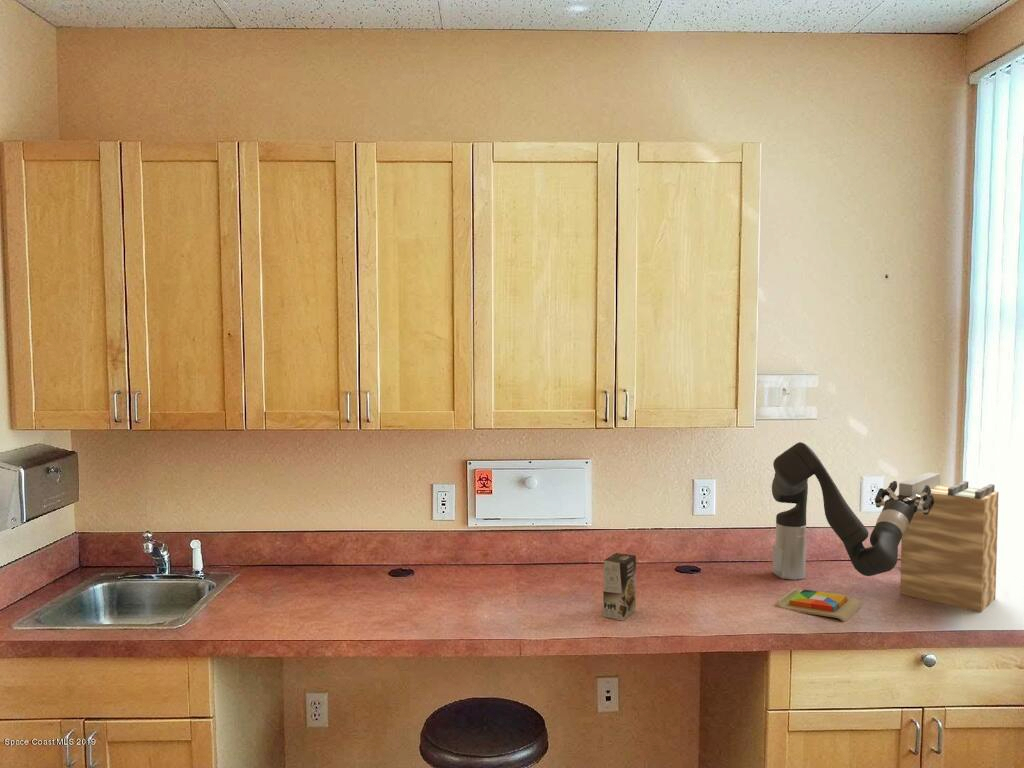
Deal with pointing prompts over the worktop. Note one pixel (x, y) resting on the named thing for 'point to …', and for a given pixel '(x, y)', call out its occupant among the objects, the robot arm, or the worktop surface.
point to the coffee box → (619, 586)
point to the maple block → (953, 548)
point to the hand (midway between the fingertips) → (911, 485)
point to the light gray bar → (919, 484)
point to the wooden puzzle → (820, 603)
